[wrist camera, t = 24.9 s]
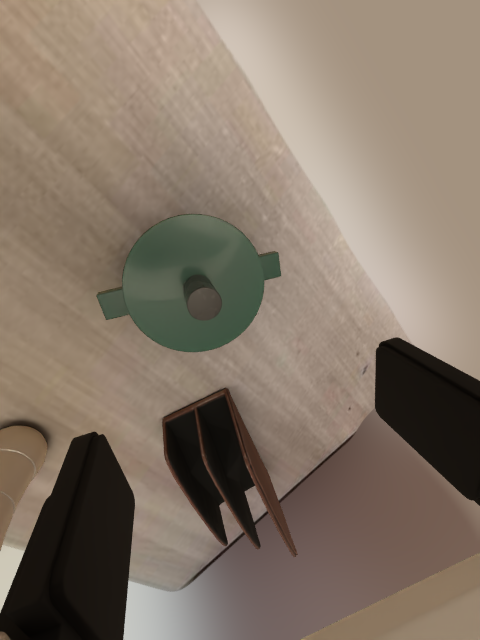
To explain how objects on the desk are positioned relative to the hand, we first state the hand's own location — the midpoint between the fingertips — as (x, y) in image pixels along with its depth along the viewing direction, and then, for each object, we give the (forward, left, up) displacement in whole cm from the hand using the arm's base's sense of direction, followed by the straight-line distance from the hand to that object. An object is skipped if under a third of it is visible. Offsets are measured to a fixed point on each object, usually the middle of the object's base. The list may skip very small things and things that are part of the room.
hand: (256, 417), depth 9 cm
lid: (0, 0, -18) cm, 18 cm away
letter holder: (+28, -2, -26) cm, 39 cm away
